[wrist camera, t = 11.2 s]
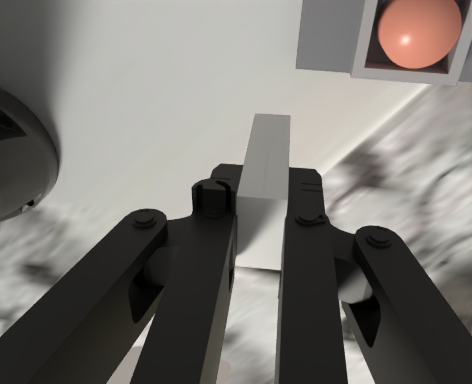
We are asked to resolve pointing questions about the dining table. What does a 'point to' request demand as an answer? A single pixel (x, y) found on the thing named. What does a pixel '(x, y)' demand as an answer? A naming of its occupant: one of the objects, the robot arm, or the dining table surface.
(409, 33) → the push button
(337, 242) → the robot arm
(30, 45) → the dining table surface
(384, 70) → the switch panel
